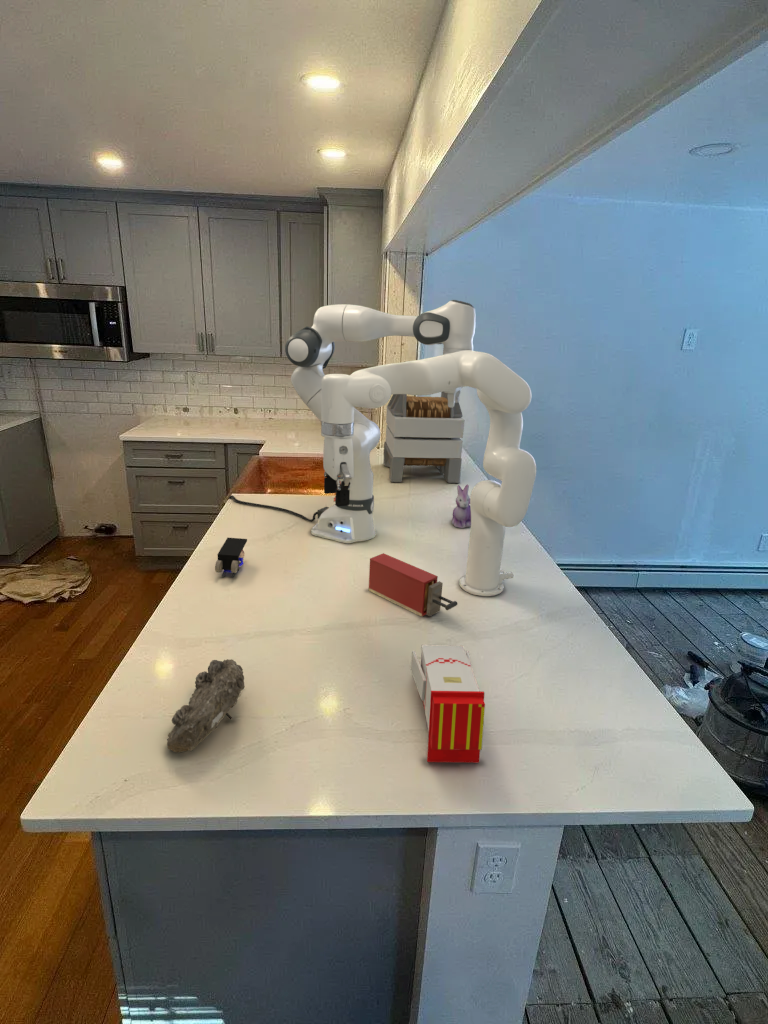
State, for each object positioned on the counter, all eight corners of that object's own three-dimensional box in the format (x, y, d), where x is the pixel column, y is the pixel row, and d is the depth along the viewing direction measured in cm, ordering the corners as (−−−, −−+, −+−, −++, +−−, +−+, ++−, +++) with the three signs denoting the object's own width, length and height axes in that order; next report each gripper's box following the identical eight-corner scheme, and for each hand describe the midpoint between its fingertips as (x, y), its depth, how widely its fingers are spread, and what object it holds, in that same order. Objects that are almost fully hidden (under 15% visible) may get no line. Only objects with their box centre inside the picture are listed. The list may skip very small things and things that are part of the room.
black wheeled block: (238, 584, 162) (249, 557, 175) (236, 562, 158) (247, 536, 172) (215, 584, 161) (227, 556, 175) (212, 561, 158) (225, 535, 171)
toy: (464, 627, 124) (494, 699, 95) (461, 683, 127) (489, 770, 98) (409, 626, 124) (422, 698, 94) (407, 682, 127) (419, 769, 97)
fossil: (192, 660, 117) (244, 628, 112) (224, 691, 120) (276, 661, 115) (142, 746, 98) (202, 712, 93) (182, 779, 101) (242, 748, 96)
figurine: (459, 530, 205) (463, 490, 200) (444, 520, 214) (447, 482, 209) (480, 526, 209) (485, 488, 204) (464, 517, 218) (468, 480, 213)
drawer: (456, 618, 145) (459, 589, 142) (446, 624, 142) (449, 595, 139) (388, 586, 160) (390, 560, 157) (378, 591, 157) (379, 564, 154)
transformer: (382, 463, 289) (386, 382, 275) (445, 464, 293) (451, 384, 279) (390, 482, 257) (394, 392, 243) (460, 483, 261) (468, 394, 247)
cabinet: (435, 609, 150) (437, 576, 147) (421, 616, 147) (424, 582, 143) (382, 584, 163) (383, 553, 159) (368, 590, 159) (369, 558, 156)
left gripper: (452, 355, 180) (448, 399, 184) (441, 360, 161) (437, 408, 166) (472, 356, 178) (468, 400, 183) (463, 361, 160) (458, 410, 164)
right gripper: (365, 436, 125) (362, 509, 131) (341, 421, 140) (340, 487, 146) (332, 437, 122) (331, 512, 128) (312, 422, 137) (312, 489, 143)
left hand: (453, 404), depth 174 cm, fingers open, 8 cm apart
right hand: (336, 499), depth 137 cm, fingers open, 9 cm apart
